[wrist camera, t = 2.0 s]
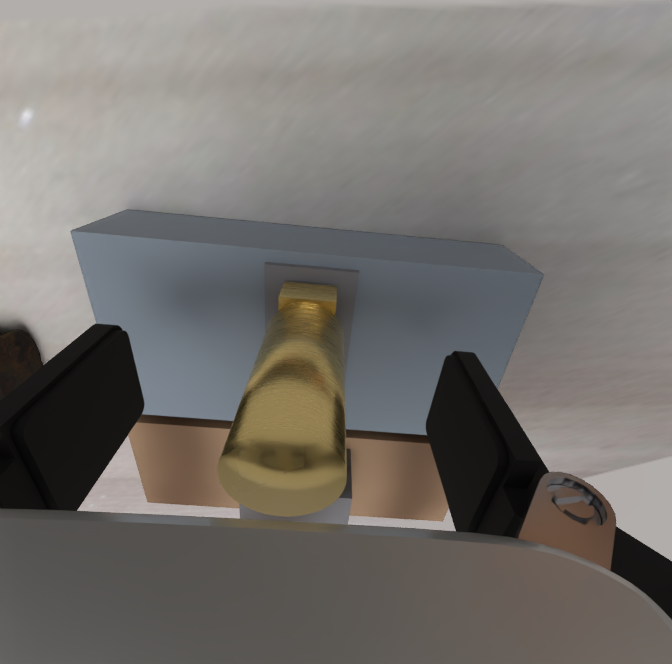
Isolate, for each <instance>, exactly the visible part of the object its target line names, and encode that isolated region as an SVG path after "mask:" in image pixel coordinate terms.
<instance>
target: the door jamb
mask: <svg viewBox="0 0 672 664" xmlns="http://www.w3.org/2000/svg"><path fill="white" fill-rule="evenodd" d="M232 423H233V421H228V420H214V419H200V418H187V417H173V416H159V415H146V414H142V415H141V416H140V418H139V419H138V421H137V422H136V424H135V425H134V427H133V428H132V430H131V431H130V433H129V434H128V435H129V439H130V442H131V446H132V449H133V453H134V456H135V460H136V463H137V467H138V470H139V474H140V477H141V481H142V484H143V488H144V491H145V495H146V498H147V502H150V503H165V504H181V505H196V506H212V507H227V508H240V519H254V520H273V521H292V522H311V523H329V524H346V525H348V520H349V515H352V516H368V517H383V518H399V519H415V520H430V521H443V520H444V517H445V515H446V512H447V510H448V508H449V506H448V503H447V499H446V496H445V493H444V489H443V486H442V483H441V479H440V476H439V473H438V470H437V466H436V463H435V460H434V456H433V453H432V450H431V446H430V443H429V440H428V436H427V435H418V434H405V433H391V432H377V431H364V430H350V429H346V466H347V480H346V485H345V488H344V490H343V493H342V494H341V495H340V497H339V498H338V499H337V500H336V501H335V502H334V503H332V504H331V505H330V506H328V507H326V508H324V509H322V510H320V511H317V512H314V513H311V514H307V515H302V516H291V517H286V516H273V515H268V514H263V513H260V512H257V511H254V510H251V509H249V508H247V507H245V506H243V505H241V504H240V503H238V502H237V501H235V500H234V499H233V498H232V497H230V496H229V495H228V494H227V492H226V491H225V490H224V489H223V487H222V485H221V484H220V481H219V479H218V474H217V467H218V462H219V459H220V456H221V453H222V451H223V448H224V445H225V443H226V440H227V437H228V434H229V432H230V429H231V426H232Z"/></svg>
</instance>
